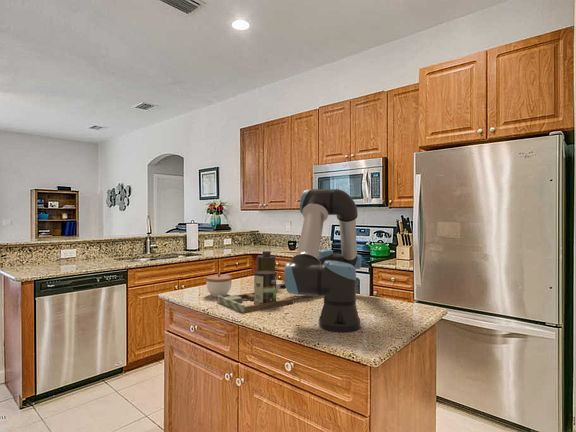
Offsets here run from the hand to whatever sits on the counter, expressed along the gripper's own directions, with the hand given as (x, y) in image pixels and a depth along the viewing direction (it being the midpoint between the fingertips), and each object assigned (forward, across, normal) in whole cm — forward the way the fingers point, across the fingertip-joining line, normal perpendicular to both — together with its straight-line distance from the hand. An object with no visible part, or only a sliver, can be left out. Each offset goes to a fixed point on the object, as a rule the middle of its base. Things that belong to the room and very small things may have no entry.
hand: (273, 287), depth 169 cm
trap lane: (+8, +1, -6) cm, 11 cm away
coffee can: (+5, 0, -7) cm, 8 cm away
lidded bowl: (+16, +25, -7) cm, 30 cm away
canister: (-13, +26, -7) cm, 30 cm away
